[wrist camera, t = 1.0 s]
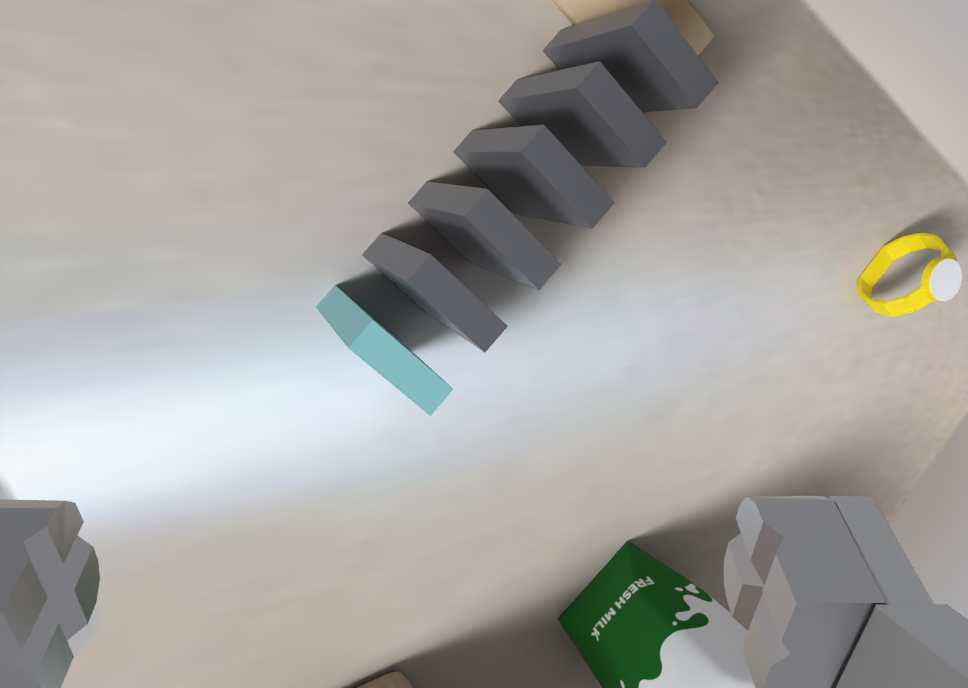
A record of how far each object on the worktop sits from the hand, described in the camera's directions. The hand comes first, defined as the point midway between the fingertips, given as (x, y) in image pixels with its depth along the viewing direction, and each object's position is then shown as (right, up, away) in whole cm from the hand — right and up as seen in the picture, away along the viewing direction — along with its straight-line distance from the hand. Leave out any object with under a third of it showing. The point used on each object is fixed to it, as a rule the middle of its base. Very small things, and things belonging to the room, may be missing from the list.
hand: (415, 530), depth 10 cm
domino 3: (+1, +12, +36) cm, 38 cm away
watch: (+28, +8, +47) cm, 55 cm away
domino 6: (-6, +3, +35) cm, 36 cm away
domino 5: (-4, +6, +36) cm, 36 cm away
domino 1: (+6, +18, +36) cm, 41 cm away
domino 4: (-1, +9, +36) cm, 37 cm away
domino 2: (+4, +15, +36) cm, 39 cm away
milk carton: (+10, -16, +46) cm, 50 cm away
